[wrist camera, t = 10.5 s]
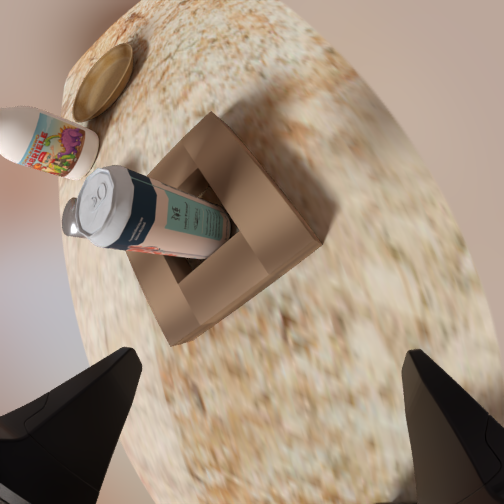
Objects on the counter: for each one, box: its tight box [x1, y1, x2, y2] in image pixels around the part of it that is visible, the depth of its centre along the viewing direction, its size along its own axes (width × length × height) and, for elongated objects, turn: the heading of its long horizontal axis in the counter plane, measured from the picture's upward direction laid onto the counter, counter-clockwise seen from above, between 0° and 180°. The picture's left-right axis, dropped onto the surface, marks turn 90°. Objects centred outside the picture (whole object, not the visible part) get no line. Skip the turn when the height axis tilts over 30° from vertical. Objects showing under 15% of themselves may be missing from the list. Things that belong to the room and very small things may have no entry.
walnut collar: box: [125, 111, 322, 347], centre depth 23 cm, size 14×14×3 cm
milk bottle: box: [0, 106, 99, 180], centre depth 26 cm, size 8×8×20 cm
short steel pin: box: [62, 198, 88, 239], centre depth 28 cm, size 4×4×6 cm
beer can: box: [75, 165, 231, 259], centre depth 19 cm, size 5×5×12 cm
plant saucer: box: [72, 43, 133, 122], centre depth 35 cm, size 15×15×3 cm
